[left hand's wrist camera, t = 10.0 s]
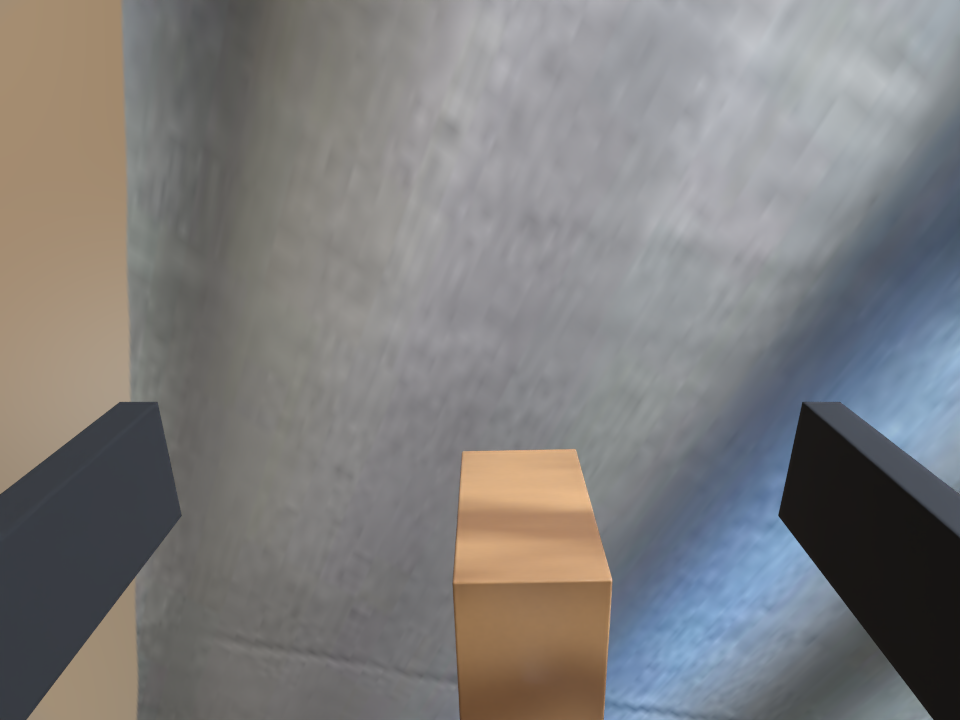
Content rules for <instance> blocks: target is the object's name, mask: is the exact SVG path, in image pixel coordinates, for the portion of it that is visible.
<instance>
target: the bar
mask: <svg viewBox="0 0 960 720" xmlns="http://www.w3.org/2000/svg"><path fill="white" fill-rule="evenodd" d="M611 595H612V577H611V574H610V570H609V567H608V563H607V559H606V556H605V552H604V549H603V545H602V541H601V538H600V534H599V531H598V527H597V524H596V520H595V516H594V513H593V509H592V506H591V502H590V499H589V495H588V491H587V488H586V484H585V481H584V477H583V473H582V470H581V466H580V463H579V459H578V456H577V452H576V450H575V449H559V450H508V451H463V452H462V460H461V474H460V488H459V502H458V516H457V529H456V543H455V557H454V571H453V599H454V618H455V637H456V655H457V674H458V692H459V711H460V720H604V706H605V690H606V674H607V658H608V643H609V627H610V611H611Z"/></svg>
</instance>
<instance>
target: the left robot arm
mask: <svg viewBox="0 0 960 720" xmlns="http://www.w3.org/2000/svg"><path fill="white" fill-rule="evenodd" d="M181 516H182V515H181V510H180V506H179V501H178V496H177V492H176V487H175V482H174V477H173V473H172V468H171V463H170V459H169V454H168V449H167V444H166V440H165V435H164V430H163V426H162V421H161V416H160V411H159V407H158V402H119V403H118V404H117V405H115V406H114V407H113V408H112V409H110V410H109V411H108V412H106V413H105V414H104V415H103V416H101V417H100V418H99V419H97V420H96V421H95V422H93V423H92V424H91V425H90V426H88V427H87V428H86V429H84V430H83V431H82V432H80V433H79V434H78V435H77V436H75V437H74V438H73V439H71V440H70V441H69V442H68V443H66V444H65V445H64V446H62V447H61V448H60V449H58V450H57V451H56V452H55V453H53V454H52V455H51V456H49V457H48V458H47V459H46V460H44V461H43V462H42V463H40V464H39V465H38V466H36V467H35V468H34V469H33V470H31V471H30V472H29V473H27V474H26V475H25V476H24V477H22V478H21V479H20V480H18V481H17V482H16V483H15V484H13V485H12V486H11V487H9V488H8V489H7V490H5V491H4V492H3V493H2V494H0V720H26V719H27V718H28V717H29V716H30V714H31V713H32V712H33V710H34V709H35V708H36V706H37V705H38V704H39V702H40V701H41V700H42V698H43V697H44V696H45V695H46V693H47V692H48V691H49V689H50V688H51V687H52V685H53V684H54V683H55V681H56V680H57V679H58V677H59V676H60V675H61V674H62V672H63V671H64V670H65V668H66V667H67V666H68V664H69V663H70V662H71V660H72V659H73V658H74V656H75V655H76V654H77V653H78V651H79V650H80V648H81V647H82V646H83V645H84V643H85V642H86V641H87V639H88V638H89V637H90V635H91V634H92V633H93V631H94V630H95V629H96V628H97V626H98V625H99V624H100V622H101V621H102V620H103V618H104V617H105V616H106V614H107V613H108V612H109V610H110V609H111V608H112V607H113V605H114V604H115V603H116V601H117V600H118V599H119V597H120V596H121V595H122V593H123V592H124V591H125V589H126V588H127V587H128V586H129V584H130V583H131V582H132V580H133V579H134V578H135V576H136V575H137V574H138V572H139V571H140V570H141V568H142V567H143V566H144V564H145V563H146V562H147V561H148V559H149V558H150V557H151V555H152V554H153V553H154V551H155V550H156V549H157V547H158V546H159V545H160V543H161V542H162V541H163V540H164V538H165V537H166V536H167V534H168V533H169V532H170V530H171V529H172V528H173V526H174V525H175V524H176V522H177V521H178V520H179V519H180V517H181ZM778 516H779V517H780V519H781V520H782V521H783V522H784V524H785V525H786V526H787V528H788V529H789V530H790V532H791V533H792V534H793V536H794V537H795V538H796V540H797V541H798V542H799V543H800V545H801V546H802V547H803V549H804V550H805V551H806V553H807V554H808V555H809V557H810V558H811V559H812V561H813V562H814V563H815V564H816V566H817V567H818V568H819V570H820V571H821V572H822V574H823V575H824V576H825V578H826V579H827V580H828V582H829V583H830V584H831V586H832V587H833V588H834V589H835V591H836V592H837V593H838V595H839V596H840V597H841V599H842V600H843V601H844V603H845V604H846V605H847V607H848V608H849V609H850V610H851V612H852V613H853V614H854V616H855V617H856V618H857V620H858V621H859V622H860V624H861V625H862V626H863V628H864V629H865V630H866V631H867V633H868V634H869V635H870V637H871V638H872V639H873V641H874V642H875V643H876V645H877V646H878V647H879V649H880V650H881V651H882V653H883V654H884V655H885V656H886V658H887V659H888V660H889V662H890V663H891V664H892V666H893V667H894V668H895V670H896V671H897V672H898V674H899V675H900V676H901V677H902V679H903V680H904V681H905V683H906V684H907V685H908V687H909V688H910V689H911V691H912V692H913V693H914V695H915V696H916V697H917V698H918V700H919V701H920V702H921V704H922V705H923V706H924V708H925V709H926V710H927V712H928V713H929V714H930V716H931V717H932V718H933V720H960V494H958V493H957V492H956V491H955V490H953V489H952V488H951V487H949V486H948V485H947V484H946V483H944V482H943V481H942V480H940V479H939V478H938V477H936V476H935V475H934V474H933V473H931V472H930V471H929V470H927V469H926V468H925V467H924V466H922V465H921V464H920V463H918V462H917V461H916V460H914V459H913V458H912V457H911V456H909V455H908V454H907V453H905V452H904V451H903V450H902V449H900V448H899V447H898V446H896V445H895V444H894V443H892V442H891V441H890V440H889V439H887V438H886V437H885V436H883V435H882V434H881V433H880V432H878V431H877V430H876V429H874V428H873V427H872V426H870V425H869V424H868V423H867V422H865V421H864V420H863V419H861V418H860V417H859V416H858V415H856V414H855V413H854V412H852V411H851V410H850V409H848V408H847V407H846V406H845V405H843V404H842V403H841V402H802V407H801V411H800V416H799V421H798V426H797V430H796V435H795V440H794V444H793V449H792V454H791V459H790V463H789V468H788V473H787V477H786V482H785V487H784V492H783V496H782V501H781V506H780V510H779V515H778Z"/></svg>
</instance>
